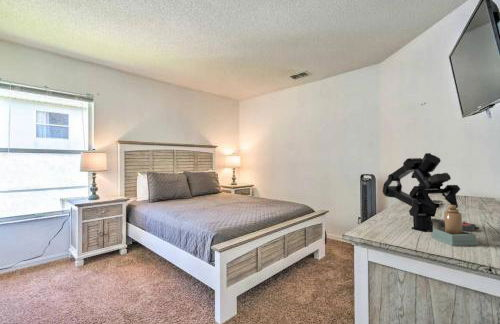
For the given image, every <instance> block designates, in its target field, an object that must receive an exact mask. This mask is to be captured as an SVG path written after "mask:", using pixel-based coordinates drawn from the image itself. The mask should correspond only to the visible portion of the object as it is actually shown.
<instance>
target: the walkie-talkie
mask: <svg viewBox="0 0 500 324" xmlns="http://www.w3.org/2000/svg"><path fill="white" fill-rule="evenodd" d="M431 220H432V222H439V225H440V227H441V228H445V219H437V218H431ZM466 221H467V220H462V231H465V232H468V233H471V232H473V231H476V230H479V229H480V227H479V226H476V224H474V223H471V222H466Z"/></svg>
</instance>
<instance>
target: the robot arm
mask: <svg viewBox="0 0 500 324" xmlns="http://www.w3.org/2000/svg"><path fill="white" fill-rule="evenodd" d="M404 160H405V161H403V163H402V164H403V165H402V166H401V167H399V168H398V169H396V170H395V171H393V172H392V173H389V174H388V176H387V179H386V180H385V182H384V183H383V186H382V193H383V195H384V197H388V198H394V199H396V200H398V201H401V202H403V203H404V204H406V205H408V206H409V207H410V209H409V210H408V214H409V216H412V218H413V219H412V221H413V226H411V229H413V230H417V231H422V232H429V231H430V232H431V231H433V229H434V228H433V227H434V226H433V223H434V221H433V220H432V218H434V217H436V212H437V208H438V207H437V205H436V203H435V202H434V200H433V199H431V197H430V196H429V195H438V194H439V195H440V194H441V195H442V196H443V197H444V199H445V200H446V201H447V202H448V203H449V205H456V209H458V207H459V204H458V201H457V194H458V193H459V192H460V191H461V187H460V186H459V185H458V184H447V185H445V187H444V188H441V187H443V186H444V183H446V182H449V181H451V175H450V174H449V173H448V172H443V173H434V174H431V173H432V172H434V171H435V170H436V169H437V167H438V166H439V164H440V163H441V162H442V161H441V158H440V157H438V156H436V155H433V154H431V152H429V153H427V152H426V153H425V154H424V156H423V157H422V158H421V157H414V158H412V157H411V158H410V157H409V158H406V159H404ZM410 174H411V179H416V180H417V182H418V185H415V186H414V185H413V187H412V188H411V190H410V192H409V194H408V193H406V192H404V191H402V188H403V186H402V183H401V180H402V179H403V178H405V177H407V176H408V175H410ZM393 182H396V184H397V185H391V184H392V183H393Z"/></svg>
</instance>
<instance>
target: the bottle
mask: <svg viewBox="0 0 500 324" xmlns="http://www.w3.org/2000/svg"><path fill="white" fill-rule="evenodd" d="M462 214H463V213H462V212H459V209H458V208H456V205H451V204H448V208H446V211H444V214H443V215H444V220H445V227H444V232H446V233H449V234H452V235H460V234H462V221H463V219H462V217H463V216H462Z"/></svg>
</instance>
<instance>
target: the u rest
mask: <svg viewBox="0 0 500 324" xmlns="http://www.w3.org/2000/svg"><path fill="white" fill-rule="evenodd" d="M431 238H432V239H433V240H436V241H439V242H442V243H444V244H445V245H446V244H447V245H449V246H451V247H458V246H460V247H461V246H464V247H465V246H480V243H479V241H478V240H477V234H475V233H471V232H467V231H462V234H460V235H452V234H449V233H446V232H445V231H443V230H440V229H437V228H433V230H432V234H431Z"/></svg>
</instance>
